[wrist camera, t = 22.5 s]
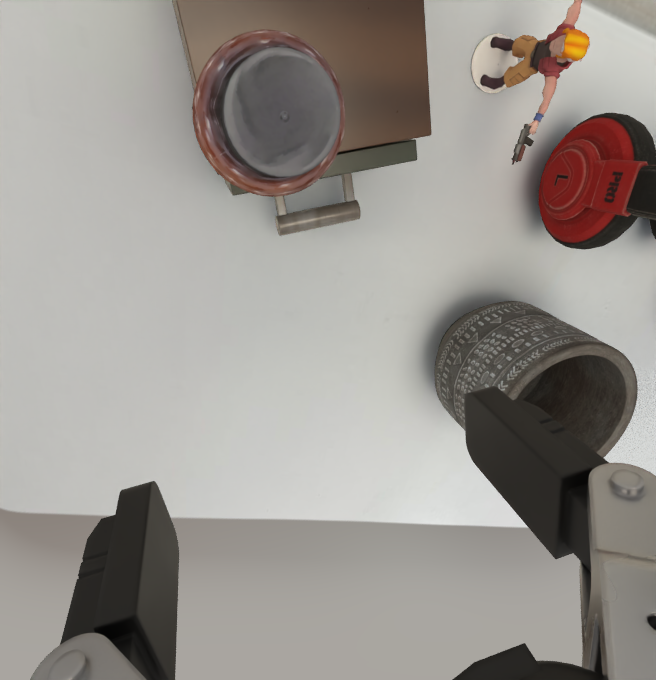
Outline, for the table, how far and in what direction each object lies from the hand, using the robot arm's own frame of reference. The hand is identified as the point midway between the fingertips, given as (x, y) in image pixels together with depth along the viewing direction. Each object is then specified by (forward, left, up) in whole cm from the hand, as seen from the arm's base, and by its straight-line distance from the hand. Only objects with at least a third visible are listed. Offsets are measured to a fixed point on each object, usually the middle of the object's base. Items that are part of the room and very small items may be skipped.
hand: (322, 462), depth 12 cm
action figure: (+22, +8, -28) cm, 37 cm away
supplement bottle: (+2, +8, -19) cm, 21 cm away
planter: (+20, -15, -28) cm, 38 cm away
